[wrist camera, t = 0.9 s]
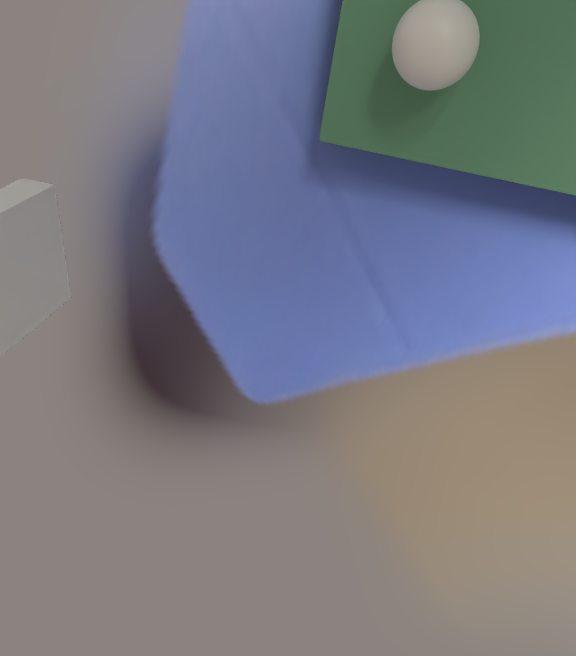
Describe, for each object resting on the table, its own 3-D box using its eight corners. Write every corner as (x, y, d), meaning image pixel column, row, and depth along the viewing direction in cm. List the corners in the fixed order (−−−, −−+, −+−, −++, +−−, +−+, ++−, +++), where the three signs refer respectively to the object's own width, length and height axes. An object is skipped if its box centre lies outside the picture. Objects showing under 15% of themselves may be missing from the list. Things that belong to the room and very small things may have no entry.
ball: (406, -13, 27) (401, -12, 23) (489, 1, 26) (495, 4, 23) (387, 75, 29) (379, 87, 26) (462, 90, 28) (464, 104, 25)
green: (371, -118, 27) (364, -128, 25) (852, -44, 25) (897, -47, 22) (327, 129, 34) (318, 140, 32) (702, 207, 31) (724, 227, 29)
